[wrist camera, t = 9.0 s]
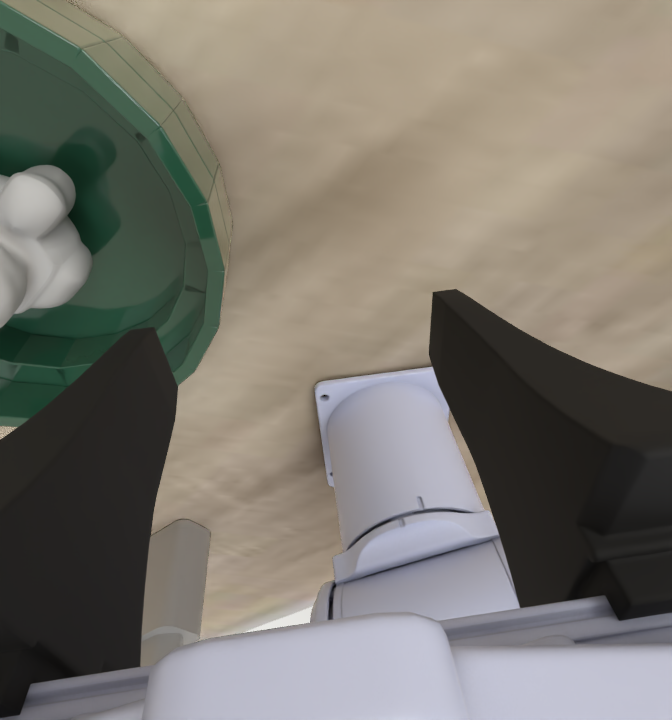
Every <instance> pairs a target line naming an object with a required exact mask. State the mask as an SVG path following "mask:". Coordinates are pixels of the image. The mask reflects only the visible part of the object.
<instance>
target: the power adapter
mask: <svg viewBox="0 0 672 720" xmlns="http://www.w3.org/2000/svg"><path fill="white" fill-rule="evenodd" d="M210 537H211V532H210V531H209V530H208V529H206V528H204V527H202V526H200V525H198V524H196V523H194V522H192V521H190V520H184V519H183V520H178V521H176V522H174V523H172V524H170V525H169V526H167V527H165V528H164V529H162V530H160V531H159V532H157V533H155V534H154V535H152V536H150V543H149V552H148V562H147V572H146V582H145V594H144V608H143V622H142V639H141V661H140V667H143V666H150V665H155V664H156V663H157V662H158V661H159V660H161V659H162V658H163V657H165V656H166V655H167V654H169V653H170V652H171V651H173V650H174V649H175V648H177V647H180V646H183V645H187V644H190V643H194V642H196V641H198V640H199V638H200V630H201V621H202V611H203V602H204V593H205V584H206V574H207V565H208V556H209V546H210Z"/></svg>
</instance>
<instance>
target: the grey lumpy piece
mask: <svg viewBox="0 0 672 720" xmlns="http://www.w3.org/2000/svg"><path fill="white" fill-rule="evenodd" d="M75 199H76V192H75V186H74V183H73V181H72V180H71V178H70V177H69V176H68V175H67V174H66V173H65V172H64V171H62V170H61V169H60V168H58V167H55V166H52V165H38V166H34V167H31V168H29V169H27V170H25V171H23V172H19V173H15V174H13V175H12V176H11V177H7V176H4V175H0V328H1V327H2V326H4V325H5V324H6V323H7V322H8V320H9V319H10V318H11V317H12V315H13V314H19V313H23V312H25V311H26V310H28V309H30V308H41V309H42V308H52V307H56V306H60V305H62V304H64V303H66V302H68V301H69V300H70V299H71V298H72V297H73V296H74V295H75V294H76V293H77V291H78V290H79V289H80V288H81V287H82V286H83V285H84V284H85V282H86V281H87V279H88V276H89V273H90V271H91V268H92V256H91V253H90V251H89V249H88V248H87V247H86V246H85V245H84V244H83V243H82V242H81V239H80V235H79V233H78V231H77V229H76V227H75V226H74V224H73V223H72V221H71V220H70V219H69V217H68V216H67V215H68V214H69V212H70V211H71V209H72V208H73V206H74V203H75Z"/></svg>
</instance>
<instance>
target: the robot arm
mask: <svg viewBox="0 0 672 720" xmlns="http://www.w3.org/2000/svg"><path fill="white" fill-rule="evenodd" d="M429 356H430V360H431V363H432V366H433V367H426V368H418V369H411V370H403V371H395V372H388V373H380V374H373V375H365V376H357V377H350V378H342V379H335V380H327V381H321V382H318V383H317V384H316V385H315V388H314V389H315V397H316V404H317V411H318V418H319V425H320V432H321V439H322V446H323V453H324V460H325V467H326V474H327V481H328V485H329V486H331V487H334V488H335V496H336V504H337V511H338V519H339V526H340V534H341V542H342V549H343V553H341V554H338V555H335V556H333V558H332V559H333V568H334V577H335V580H333V581H330V582H326V583H324V584H323V585H322V586H321V588H320V590H319V592H318V595H317V599H316V601H315V603H314V605H313V609H312V613H311V619H310V623H306V624H299V625H293V626H287V627H280V628H274V629H267V630H261V631H254V632H247V633H241V634H234V635H227V636H221V637H214V638H209V639H205V640H201V641H198V642H194V643H190V644H187V645H183V646H180V647H177V648H175V649H174V650H173V651H171V652H170V653H169V654H167V655H166V656H165V657H163V658H162V659H161V660H159V661H158V662H157V663H156V664H155V665H150V666H143V667H140V661H141V639H142V622H143V608H144V594H145V582H146V572H147V562H148V552H149V543H150V535H151V528H152V520H153V512H154V506H155V501H156V496H157V492H158V488H159V484H160V480H161V476H162V472H163V468H164V464H165V460H166V456H167V452H168V448H169V443H170V439H171V435H172V431H173V426H174V422H175V415H176V405H177V392H178V386H177V383H176V381H175V378H174V376H173V373H172V371H171V368H170V365H169V363H168V360H167V358H166V355H165V353H164V350H163V348H162V345H161V343H160V340H159V338H158V335H157V333H156V330H155V328H154V327H150V328H142V329H134V330H130V331H128V332H127V333H126V334H125V335H123V336H122V337H121V338H120V339H119V340H118V341H117V342H116V343H115V344H114V345H112V346H111V347H110V348H109V349H108V350H107V351H106V352H105V353H104V354H103V355H102V356H101V357H100V358H99V359H98V360H97V361H96V362H95V363H93V364H92V365H91V366H90V367H89V368H88V369H87V370H86V371H85V372H84V373H83V374H82V375H81V376H80V377H79V378H78V379H76V380H75V381H74V382H73V383H72V384H71V385H70V386H68V387H67V388H66V389H65V390H64V391H63V392H61V393H60V394H59V395H58V396H57V397H56V398H54V399H53V400H52V401H51V402H50V403H49V404H47V405H46V406H45V407H44V408H43V409H41V410H40V411H39V412H38V413H36V414H35V415H34V416H32V417H31V418H30V419H29V420H27V421H26V422H25V423H23V424H22V425H20V426H19V427H18V428H16V429H15V430H14V431H12V432H11V433H9V434H8V435H7V436H5V437H4V438H2V439H1V440H0V720H672V391H668V390H665V389H661V388H658V387H654V386H651V385H647V384H644V383H641V382H638V381H635V380H632V379H629V378H626V377H623V376H620V375H617V374H615V373H612V372H609V371H606V370H604V369H601V368H598V367H596V366H593V365H591V364H588V363H586V362H583V361H581V360H579V359H577V358H575V357H572V356H570V355H568V354H566V353H563V352H561V351H559V350H557V349H555V348H553V347H551V346H549V345H547V344H545V343H543V342H541V341H540V340H538V339H536V338H534V337H532V336H530V335H529V334H527V333H525V332H523V331H522V330H520V329H518V328H516V327H515V326H513V325H512V324H510V323H508V322H507V321H505V320H503V319H502V318H500V317H499V316H497V315H496V314H494V313H493V312H491V311H489V310H488V309H486V308H485V307H483V306H482V305H480V304H479V303H477V302H476V301H474V300H473V299H471V298H470V297H468V296H467V295H465V294H463V293H462V292H460V291H458V290H457V289H453V290H445V291H437V292H433V299H432V314H431V329H430V344H429ZM322 395H327V396H325V397H322ZM449 410H450V411H451V413H452V415H453V417H454V419H455V421H456V423H457V425H458V427H459V429H460V431H461V434H462V436H463V438H464V440H465V442H466V444H467V446H468V448H469V450H470V453H471V455H472V457H473V460H474V462H475V464H476V467H477V470H478V473H479V476H480V479H481V481H482V484H483V487H484V490H485V493H486V496H487V499H488V502H489V505H490V508H491V511H492V514H493V517H494V520H495V522H494V520H493V517H492V515H491V513H490V511H489V510H484V508H483V506H482V503H481V501H480V498H479V496H478V494H477V491H476V489H475V486H474V484H473V482H472V479H471V477H470V474H469V472H468V470H467V467H466V465H465V462H464V460H463V457H462V455H461V453H460V450H459V448H458V445H457V443H456V441H455V438H454V436H453V433H452V431H451V429H450V426H449V424H448V419H449ZM495 523H496V524H495Z"/></svg>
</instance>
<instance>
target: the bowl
mask: <svg viewBox="0 0 672 720" xmlns="http://www.w3.org/2000/svg"><path fill="white" fill-rule="evenodd" d="M182 99H183V98H182V97H181V95H180V94H179V93H178V92H177V91H176V90H175V89H174V88H173V87H172V86H171V85H170V84H169V83H168V82H167V81H166V80H165V79H164V78H163V77H162V76H161V75H160V74H159V73H158V72H157V71H156V69H155V68H154V67H153V66H152V65H151V64H150V63H149V62H148V61H147V60H146V59H145V58H144V57H143V56H142V55H141V54H140V53H139V52H138V51H137V50H136V49H135V48H134V47H133V46H132V44H131V43H130V42H129V41H128V40H127V39H126V38H124V37H123V36H122V35H121V34H120V33H118V32H116V31H115V30H113V29H111V28H110V27H108V26H107V25H105V24H103V23H102V22H100V21H98V20H97V19H95V18H94V17H92V16H90V15H89V14H87V13H85V12H84V11H82V10H81V9H79V8H77V7H76V6H74V5H72V4H71V3H69V2H68V1H66V0H0V175H4V176H7V177H11V176H12V175H13V174H15V173H19V172H23V171H25V170H27V169H29V168H31V167H34V166H38V165H52V166H55V167H58V168H60V169H61V170H62V171H64V172H65V173H66V174H67V175H68V176H69V177H70V178H71V180H72V181H73V183H74V186H75V192H76V199H75V203H74V206H73V208H72V209H71V211H70V212H69V214H68V215H67V216H68V217H69V219H70V220H71V221H72V223H73V224H74V226H75V227H76V229H77V231H78V233H79V235H80V239H81V242H82V243H83V244H84V245H85V246H86V247H87V248H88V249H89V251H90V253H91V256H92V268H91V271H90V273H89V276H88V279H87V281H86V282H85V284H84V285H83V286H82V287H81V288H80V289H79V290H78V291H77V293H76V294H75V295H74V296H73V297H72V298H71V299H70V300H69V301H68V302H66V303H64V304H62V305H60V306H56V307H52V308H42V309H41V308H30V309H28V310H26V311H25V312H23V313H19V314H13V315H12V317H11V318H10V319H9V320H8V322H7V323H6V324H5V325H4V326H2V327H1V328H0V426H8V427H19V426H20V425H22V424H23V423H25V422H26V421H27V420H29V419H30V418H31V417H32V416H34V415H35V414H36V413H38V412H39V411H40V410H41V409H43V408H44V407H45V406H46V405H47V404H49V403H50V402H51V401H52V400H53V399H54V398H56V397H57V396H58V395H59V394H60V393H61V392H63V391H64V390H65V389H66V388H67V387H68V386H70V385H71V384H72V383H73V382H74V381H75V380H76V379H78V378H79V377H80V376H81V375H82V374H83V373H84V372H85V371H86V370H87V369H88V368H89V367H90V366H91V365H92V364H93V363H95V362H96V361H97V360H98V359H99V358H100V357H101V356H102V355H103V354H104V353H105V352H106V351H107V350H108V349H109V348H110V347H111V346H112V345H114V344H115V343H116V342H117V341H118V340H119V339H120V338H121V337H122V336H123V335H125V334H126V333H127V332H128V331H130V330H134V329H142V328H150V327H154V328H155V330H156V333H157V335H158V338H159V340H160V343H161V345H162V348H163V350H164V353H165V355H166V358H167V360H168V363H169V365H170V368H171V371H172V373H173V376H174V378H175V381H176V383H177V386H178V385H179V384H181V383H182V382H183V381H184V380H185V379H187V378H188V377H189V376H190V375H191V374H193V373H194V372H195V370H196V369H197V367H198V366H199V364H200V362H201V360H202V358H203V356H204V355H205V353H206V351H207V349H208V347H209V345H210V343H211V342H212V340H213V338H214V336H215V334H216V332H217V330H218V329H219V325H220V319H221V313H222V306H223V299H224V292H225V286H226V279H227V273H228V264H229V254H230V245H231V236H232V227H233V225H232V223H233V221H232V217H231V212H230V208H229V203H228V199H227V194H226V190H225V185H224V181H223V176H222V172H221V168H220V164H218V160H217V158H216V156H215V155H214V153H213V151H212V149H211V147H210V146H209V144H208V142H207V140H206V138H205V137H204V135H203V133H202V131H201V129H200V128H199V126H198V124H197V122H196V120H195V119H194V117H193V115H192V113H191V111H190V110H189V108H188V106H187V104H186V102H185V101H184V100H182Z"/></svg>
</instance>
